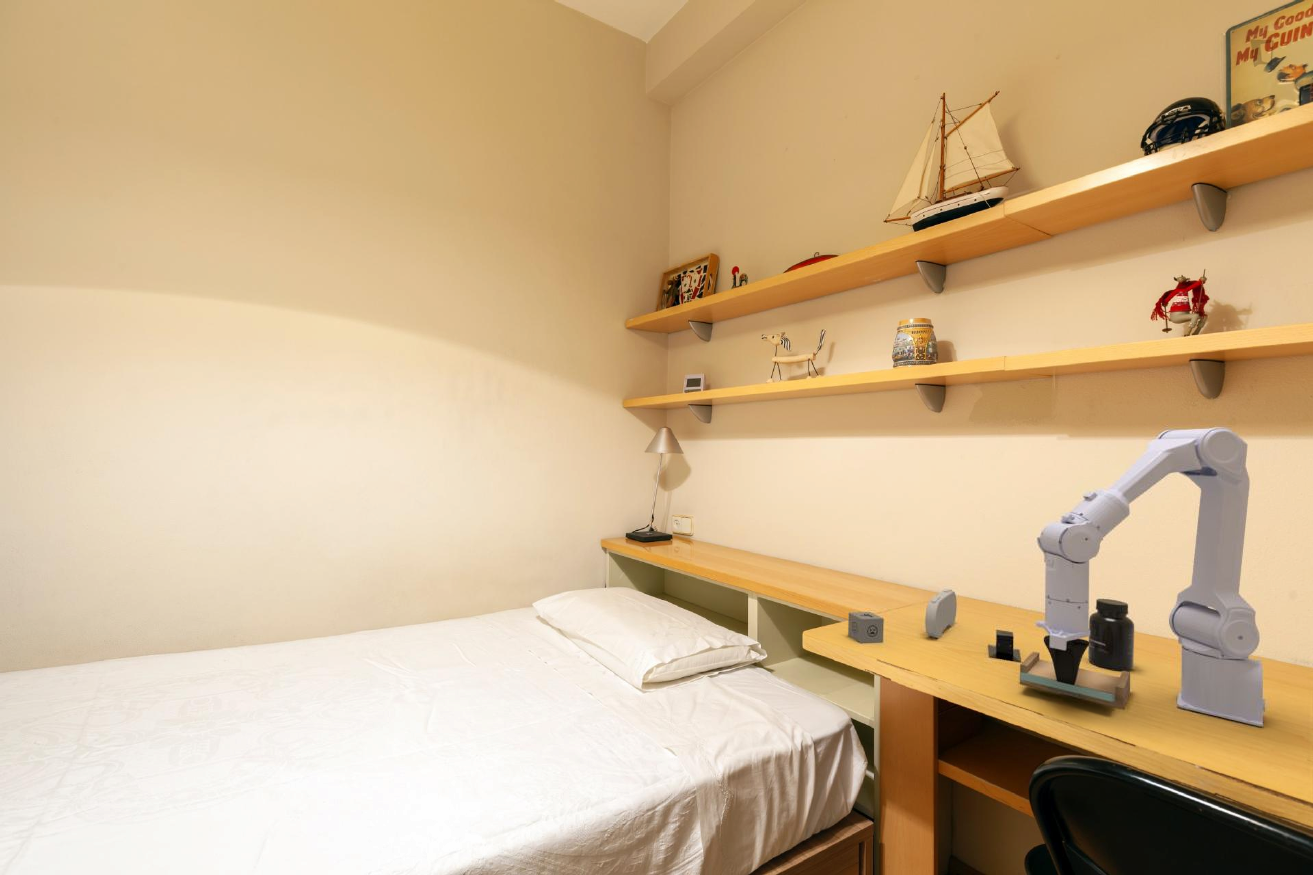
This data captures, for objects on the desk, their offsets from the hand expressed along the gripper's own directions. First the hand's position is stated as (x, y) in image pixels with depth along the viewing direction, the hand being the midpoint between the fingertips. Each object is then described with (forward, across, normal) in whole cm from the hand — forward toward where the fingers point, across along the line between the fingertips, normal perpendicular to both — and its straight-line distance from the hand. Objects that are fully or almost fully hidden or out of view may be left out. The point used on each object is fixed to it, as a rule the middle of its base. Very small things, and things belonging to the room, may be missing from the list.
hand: (1065, 685), depth 94 cm
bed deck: (+3, -9, 0) cm, 9 cm away
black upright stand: (+4, -20, -13) cm, 24 cm away
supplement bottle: (+3, -28, +3) cm, 28 cm away
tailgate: (+1, -4, 0) cm, 4 cm away
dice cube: (+3, -8, -36) cm, 37 cm away
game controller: (+3, -27, -27) cm, 38 cm away
